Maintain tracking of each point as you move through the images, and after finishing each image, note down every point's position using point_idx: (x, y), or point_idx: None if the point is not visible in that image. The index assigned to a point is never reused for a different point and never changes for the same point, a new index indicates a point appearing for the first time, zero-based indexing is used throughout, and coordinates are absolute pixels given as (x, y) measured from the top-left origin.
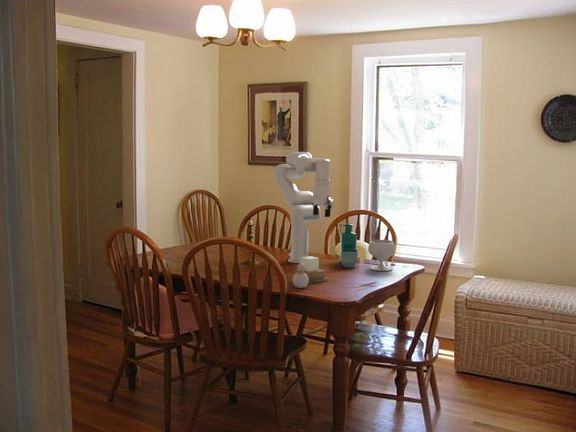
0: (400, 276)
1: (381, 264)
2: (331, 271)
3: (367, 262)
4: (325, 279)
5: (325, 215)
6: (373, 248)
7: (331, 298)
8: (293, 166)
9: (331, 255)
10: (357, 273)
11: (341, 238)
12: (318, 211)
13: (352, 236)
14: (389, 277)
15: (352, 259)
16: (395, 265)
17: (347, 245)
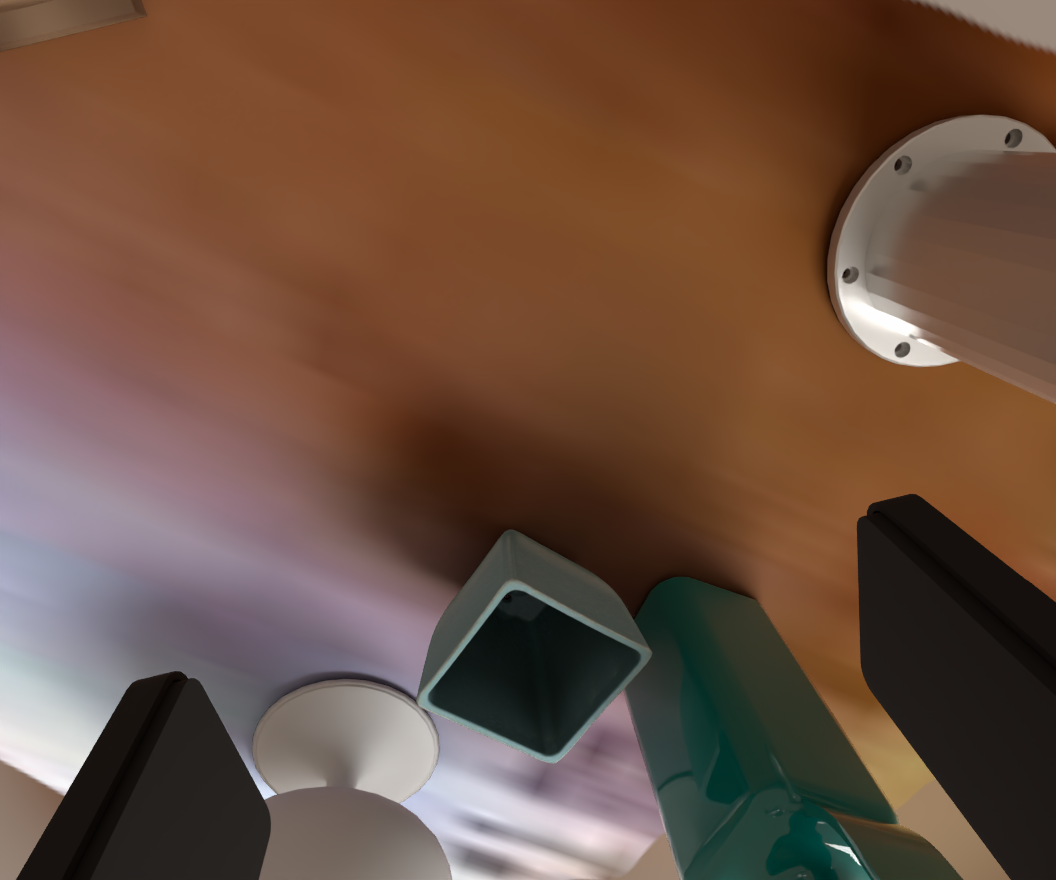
0: (59, 769)
1: (327, 779)
2: (369, 349)
3: (629, 756)
4: None
5: (113, 718)
6: None
7: None
8: None
9: None
10: (228, 531)
11: (775, 749)
12: (929, 767)
13: (692, 859)
14: (27, 691)
15: (444, 623)
16: (458, 870)
17: (686, 731)
